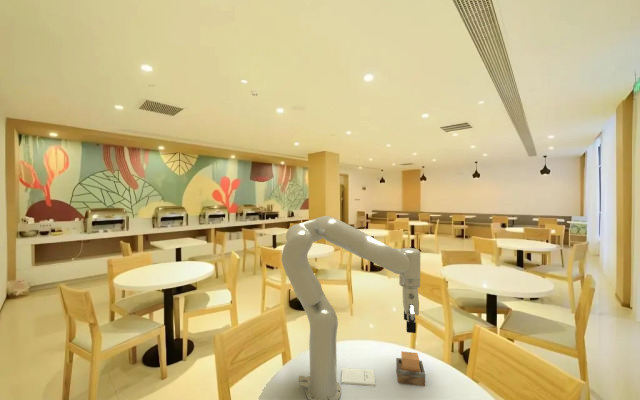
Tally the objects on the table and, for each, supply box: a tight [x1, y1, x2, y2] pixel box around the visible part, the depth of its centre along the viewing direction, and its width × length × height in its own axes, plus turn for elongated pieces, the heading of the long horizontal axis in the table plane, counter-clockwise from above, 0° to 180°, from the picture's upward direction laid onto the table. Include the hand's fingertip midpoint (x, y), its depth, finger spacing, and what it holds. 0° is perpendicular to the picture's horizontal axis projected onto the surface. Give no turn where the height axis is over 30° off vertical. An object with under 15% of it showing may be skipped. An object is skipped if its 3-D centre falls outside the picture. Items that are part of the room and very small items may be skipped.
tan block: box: [401, 350, 420, 372], centre depth 104 cm, size 6×4×6 cm
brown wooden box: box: [395, 357, 426, 387], centre depth 104 cm, size 10×8×4 cm
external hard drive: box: [340, 367, 377, 387], centre depth 104 cm, size 2×8×12 cm
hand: (409, 325), depth 104 cm, fingers open, 9 cm apart
